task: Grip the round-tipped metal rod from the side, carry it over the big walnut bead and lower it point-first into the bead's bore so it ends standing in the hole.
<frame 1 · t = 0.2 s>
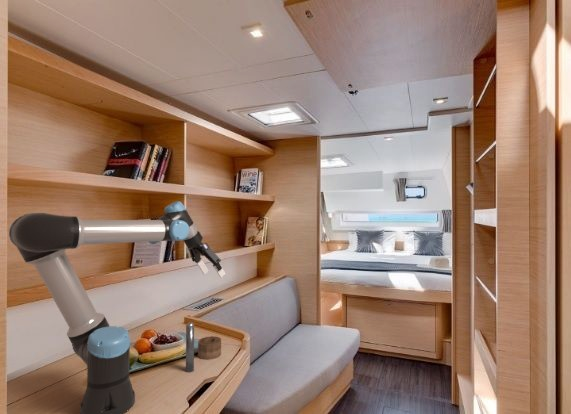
hand: (214, 274, 144), 34 cm above the table, tool tilted 30°, fingers open, 13 cm apart
bead: (209, 354, 139), on the table
round-tipped metal rod: (189, 370, 125), on the table
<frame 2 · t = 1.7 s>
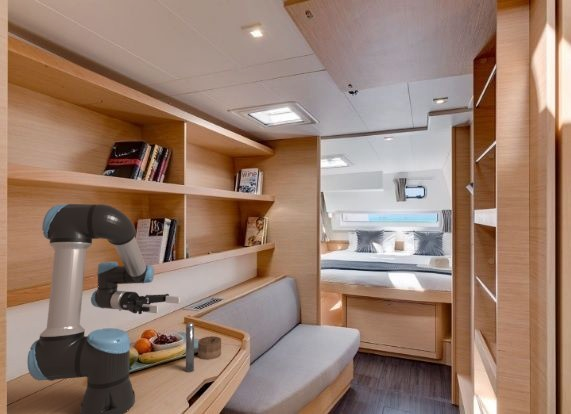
hand: (169, 304, 128), 25 cm above the table, tool horizontal, fingers open, 13 cm apart
nothing on the table moved.
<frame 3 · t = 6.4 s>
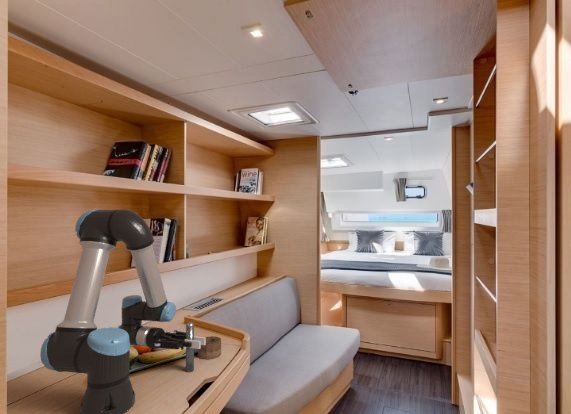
hand: (202, 343, 124), 11 cm above the table, tool horizontal, fingers closed on round-tipped metal rod, 3 cm apart
round-tipped metal rod: (189, 370, 125), on the table, touching gripper
everything else where it was.
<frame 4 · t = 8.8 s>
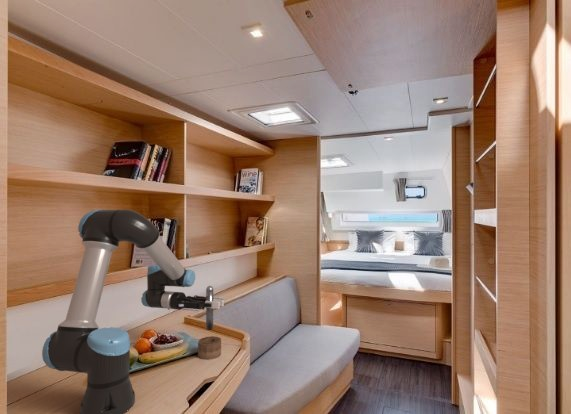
hand: (221, 304, 138), 22 cm above the table, tool horizontal, fingers closed on round-tipped metal rod, 3 cm apart
round-tipped metal rod: (209, 328, 140), point 11 cm above the table, touching gripper
everything else where it was.
when the fingers open (12 cm above the table, at t = 11.1 s): round-tipped metal rod drops 1 cm, resting in bead.
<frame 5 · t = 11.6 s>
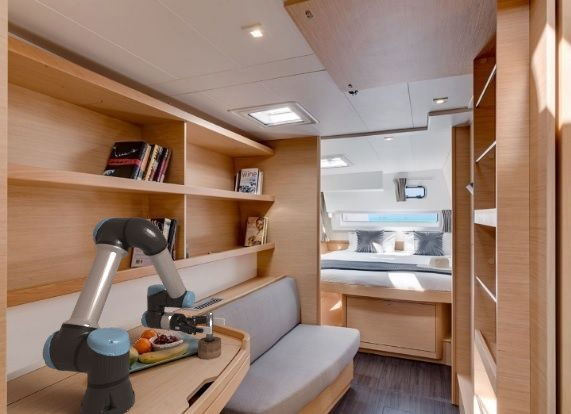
hand: (218, 326, 138), 12 cm above the table, tool horizontal, fingers open, 11 cm apart
round-tipped metal rod: (209, 354, 139), resting in bead
everything else where it was.
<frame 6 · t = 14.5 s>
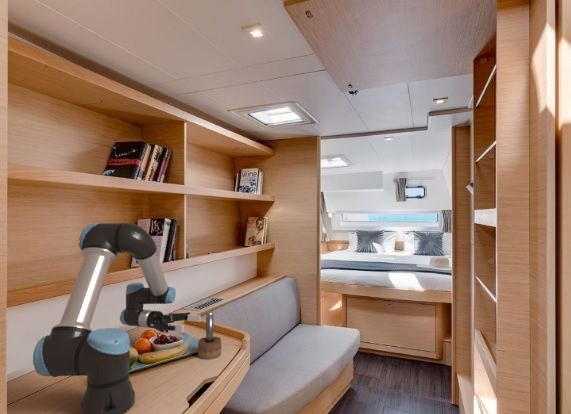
hand: (191, 323, 142), 13 cm above the table, tool horizontal, fingers open, 13 cm apart
nothing on the table moved.
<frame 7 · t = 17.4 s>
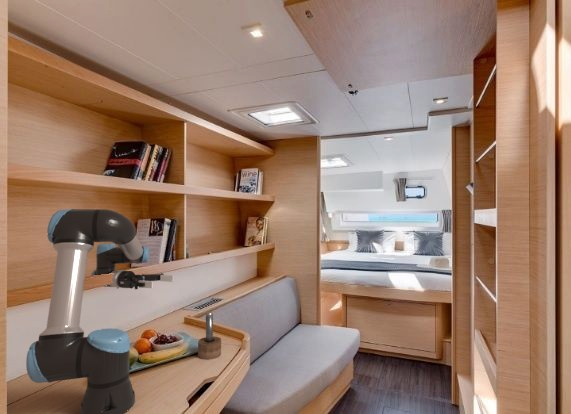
hand: (163, 281, 138), 32 cm above the table, tool horizontal, fingers open, 13 cm apart
nothing on the table moved.
at the end: round-tipped metal rod 0.1 cm from the bead (horizontally); round-tipped metal rod resting in bead; round-tipped metal rod tilted 1° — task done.
